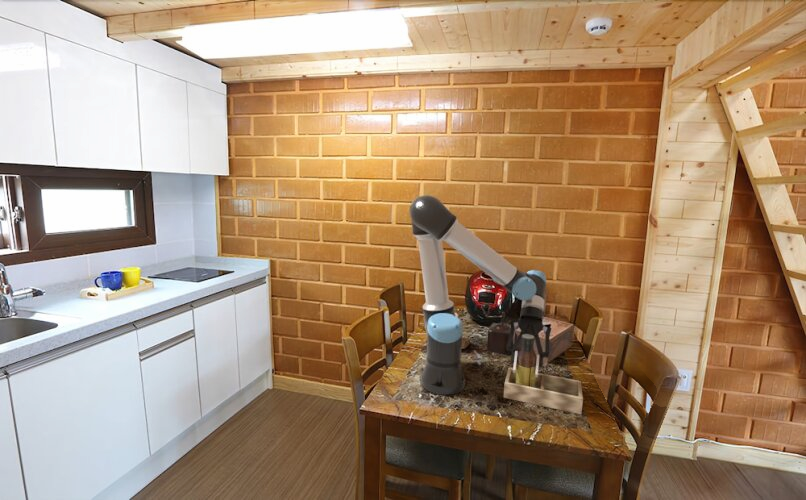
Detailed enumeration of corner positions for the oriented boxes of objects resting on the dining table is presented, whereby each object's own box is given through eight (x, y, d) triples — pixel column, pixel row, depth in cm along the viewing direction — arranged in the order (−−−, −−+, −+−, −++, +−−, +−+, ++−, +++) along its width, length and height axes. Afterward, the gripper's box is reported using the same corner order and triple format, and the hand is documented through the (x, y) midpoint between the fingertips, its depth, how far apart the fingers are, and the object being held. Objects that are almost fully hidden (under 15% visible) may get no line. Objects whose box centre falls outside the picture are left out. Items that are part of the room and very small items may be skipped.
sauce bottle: (530, 387, 128) (535, 332, 125) (537, 397, 122) (543, 339, 119) (511, 387, 128) (516, 332, 125) (517, 397, 122) (522, 339, 119)
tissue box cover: (540, 336, 176) (542, 316, 174) (572, 346, 166) (574, 324, 164) (513, 352, 157) (515, 329, 156) (547, 364, 148) (549, 339, 146)
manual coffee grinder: (515, 346, 163) (518, 306, 161) (511, 356, 153) (514, 313, 151) (480, 339, 170) (482, 301, 167) (474, 348, 160) (476, 308, 157)
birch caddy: (503, 397, 122) (504, 383, 121) (507, 380, 133) (508, 367, 132) (581, 414, 113) (582, 399, 113) (579, 395, 124) (580, 381, 124)
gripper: (560, 319, 132) (556, 383, 120) (505, 311, 139) (495, 371, 127) (562, 309, 127) (557, 375, 114) (504, 301, 134) (494, 363, 121)
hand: (525, 373), depth 121 cm, fingers closed on sauce bottle, 6 cm apart
